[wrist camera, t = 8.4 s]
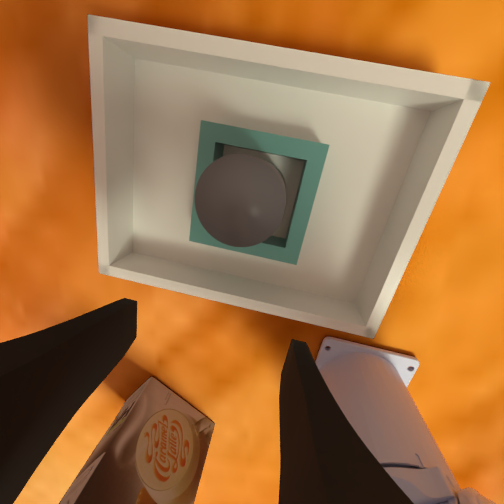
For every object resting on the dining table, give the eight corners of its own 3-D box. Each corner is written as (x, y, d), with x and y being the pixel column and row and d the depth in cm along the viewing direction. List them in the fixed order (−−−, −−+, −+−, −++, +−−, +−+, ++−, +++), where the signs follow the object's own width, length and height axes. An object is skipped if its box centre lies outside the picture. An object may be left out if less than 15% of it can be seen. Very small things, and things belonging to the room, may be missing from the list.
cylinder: (294, 169, 16) (298, 170, 10) (275, 225, 18) (268, 258, 11) (237, 152, 17) (204, 141, 10) (223, 208, 18) (187, 231, 11)
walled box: (359, 310, 20) (373, 338, 17) (128, 256, 21) (99, 273, 18) (445, 100, 15) (490, 82, 11) (128, 45, 16) (87, 14, 13)
